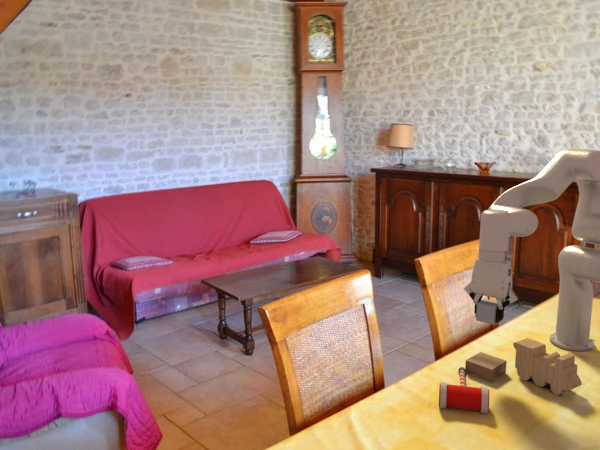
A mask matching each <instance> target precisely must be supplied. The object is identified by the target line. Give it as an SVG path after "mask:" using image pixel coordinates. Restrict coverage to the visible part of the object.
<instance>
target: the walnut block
mask: <svg viewBox="0 0 600 450" xmlns="http://www.w3.org/2000/svg"><path fill="white" fill-rule="evenodd" d="M507 364H508V363H507V360H505V359H503V358H500V357H497V356H494V355H491V354H489V353H486V352H482V351H479V352H478V353H475V354H474V355H472V356H471V357H469V358H467V359H465V364H464V365H465V367H464V368H465V371H466V373H465V374H468V375H470V376H472V377H476V378H479V379H480V380H484V381H487V382H489V383H493V382H494V381H496V380H497V379H499V378H501V377H502V376H504V375H505V374H507Z"/></svg>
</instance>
